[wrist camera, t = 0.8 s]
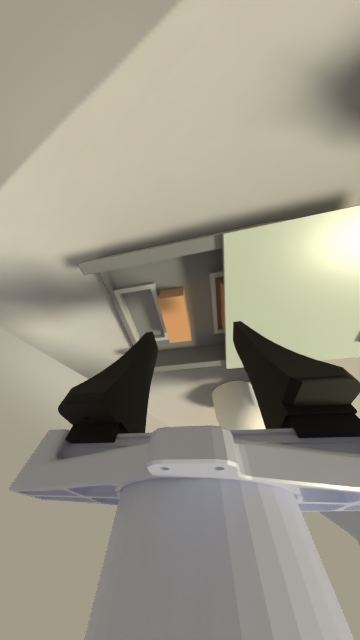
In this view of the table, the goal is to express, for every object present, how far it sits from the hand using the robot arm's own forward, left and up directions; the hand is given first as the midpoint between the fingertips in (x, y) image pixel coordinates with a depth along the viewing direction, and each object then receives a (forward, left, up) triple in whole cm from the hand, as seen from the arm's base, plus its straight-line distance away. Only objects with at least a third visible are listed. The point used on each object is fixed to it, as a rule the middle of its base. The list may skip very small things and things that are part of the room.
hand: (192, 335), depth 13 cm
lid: (-2, -13, -5) cm, 14 cm away
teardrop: (-27, -7, -10) cm, 30 cm away
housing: (-2, +1, -10) cm, 10 cm away
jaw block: (-2, +2, -9) cm, 9 cm away
